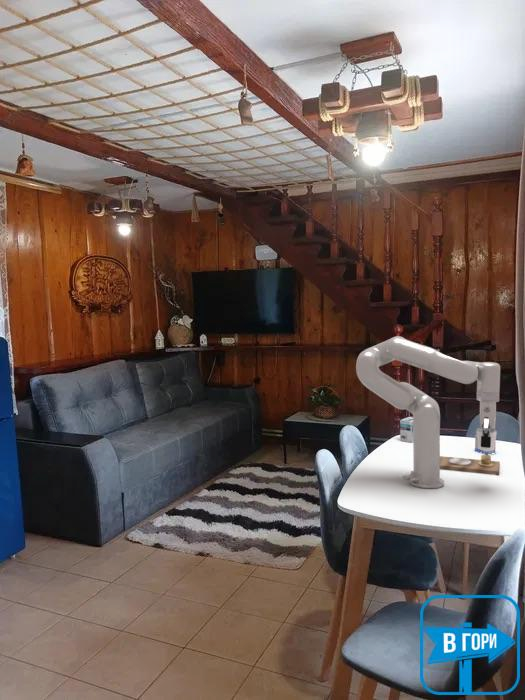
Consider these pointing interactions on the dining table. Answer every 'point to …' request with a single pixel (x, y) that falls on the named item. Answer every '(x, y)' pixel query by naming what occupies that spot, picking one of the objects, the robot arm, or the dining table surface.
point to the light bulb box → (406, 429)
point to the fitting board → (470, 465)
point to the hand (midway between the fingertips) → (486, 444)
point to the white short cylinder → (493, 439)
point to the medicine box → (482, 450)
